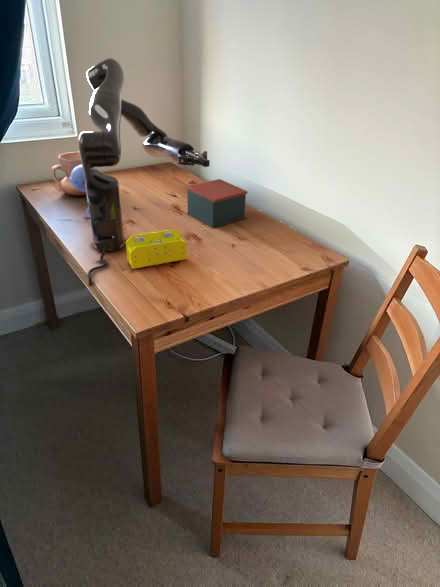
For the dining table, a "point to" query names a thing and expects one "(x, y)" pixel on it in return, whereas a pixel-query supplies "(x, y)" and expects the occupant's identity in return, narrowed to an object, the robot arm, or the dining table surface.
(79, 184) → the baby rattle
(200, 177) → the dining table surface
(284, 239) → the dining table surface
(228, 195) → the sorter lid
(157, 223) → the dining table surface
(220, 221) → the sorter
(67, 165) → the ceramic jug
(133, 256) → the yellow toy chassis
